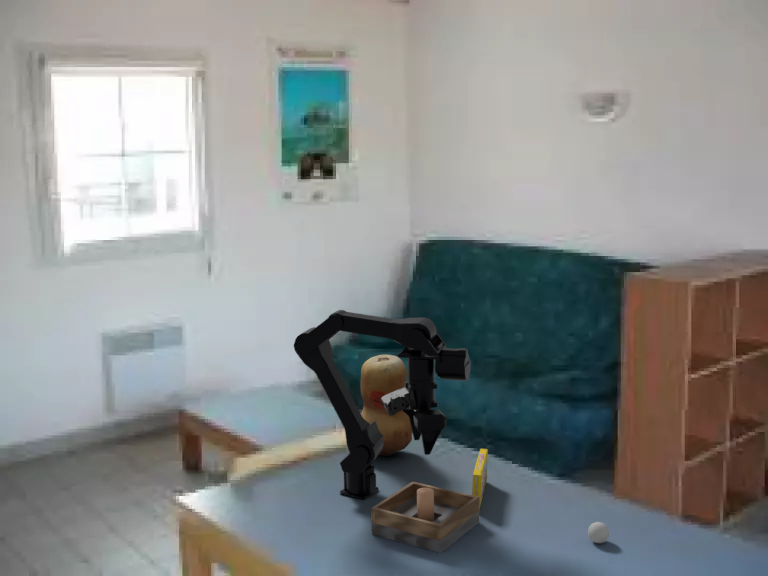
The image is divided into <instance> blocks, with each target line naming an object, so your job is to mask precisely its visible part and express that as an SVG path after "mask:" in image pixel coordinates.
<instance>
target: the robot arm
mask: <svg viewBox="0 0 768 576" xmlns="http://www.w3.org/2000/svg"><path fill="white" fill-rule="evenodd" d="M339 332H345V333H352V334H357V335H358V334H359V335H363V336H371V337H377V338H383V339H387V340H391V341H393V342H396V343H397V344H400V345H401V346H403V347H404V348H403V349H402V350H401V351H400V352H399V353H398V354H397V357H398V358H407V379H406V382H404V388H402V389H399V390H396V391H394V392H391V393H389V394H387V395H385V396H383V397H382V398H381V399H382V402H383V404H384V407H385V409H386V412H387V413H388V414H389V415H390V416H392V415H395V414H396V413H397V412H399V411H402V410H403V412H404V413H406V414H407V415H408V417H409V421H410V425H411V429H412V437H413V439H414V441H420V440H421V442H422V447H423V452H424V455H426V456H427V455H430V454H431V453H432V452H433V449H434V446H435V445H436V442H437V440H438V439H439V436H440V435H441V433H442V431H443V430H445V428H446V427H447V421H448V420H447V417H446V415H445V414H444V413H443V412H441V410H440V409H438V401H436V398H435V395H436V394H435V393H436V391H435V390H437V389H438V384H437V382H436V380H435V379H436V377H435V375H436V376H437V377H439V379H440V380H447V381H448V380H449V381H459V382H460V381H462V382H468V381H469V380H470V375H471V367H472V366H471V362H472V361H471V360H470V355H469V352H468V351H469V349H468V348H466V347H460V348H459V347H458V348H452V347H447V344H446V343H445V341H444V340H443V339H442V338H441V335H439V333H438V331H437V326H436V324H435V323H434V322H433V320H432V319H430V318H428V317H407V318H389V317H382V316H378V315H377V316H376V315H369V314H364V313H356V312H350V311H346V310H344V309H339V310H337V311H334V312H333V313H331V314H330V315H329V316H328V317H327V318H326V319H324V321H322V322H321V323H320V324H319V325H317V326H316V327H315V326H314V327H310V328H308V329H306V330H305V331H303V332H302V333H300V334H299V335H297V337H296V338H295V340H294V344H293V349H294V351H295V353H296V355H297V356H298V357H299V359H300V360H301V361H302V363H303V364H304V365H305V366H306V367H308V368H309V369H310V370H311V371H313V372H314V374H315V375H316V377H317V379H318V381H319V383H320V384H321V387H322V388H323V390H324V392H325V395H326V397H327V398H328V400H329V402H330V403H331V405H332V407H333V409H334V411H335V413H336V415H337V417H338V419H339V420H340V423H341V424H342V426H343V428H344V432H345V441H346V445H347V450H348V451H349V453H348V454H347V455H346V456H345V457H344V458H343V459H342V461H341V462H340V463H339V464H340V468H341V470H342V472H343V489H341V490H340V491H339V494H340V495H344V496H347V497H352V498H357V499H360V500H364V499H366V498H368V497H370V496H372V495H373V494H376V492H378V491H380V489H379V487H378V486H377V474H376V472H375V466H374V465H372V463H373V462H374V461H375V460H376V458H377V457H378V456H380V455H379V453H380V452H381V451H382V449H383V445H384V444H383V440H382V438H383V437H384V436H383V435H382V434H381V433H380V431H379V429H378V426H377V424H376V422H375V421H374V422H372V423H371V424H370V423H368V422H367V421H366V420H365V419H364V418H363V417H362V415H361V413H362V412H360V409H359V408H358V406H357V404H356V402H355V401H354V400H355V399H354V398H353V396H352V395H351V392H350V391H349V389H348V387H347V385H346V383H345V381H344V380H343V377H342V376H341V374H340V372H339V370H338V368H337V366H336V364H335V362H334V356H333V347H332V344H331V341H330V339H332V338H333V337H335V336H336V335H337V334H338V333H339ZM432 408H433V409H432ZM434 408H435V409H434ZM420 438H421V439H420Z"/></svg>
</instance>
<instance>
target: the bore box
mask: <svg viewBox="0 0 768 576" xmlns="http://www.w3.org/2000/svg"><path fill="white" fill-rule="evenodd" d="M420 488H431V489H433V490H434V522H430V521H426V520H422V519H419V518H417V490H418V489H420ZM370 516H371V517H370V524H371V535H374V536H377V537H381V538H385V539H389V540H392V541H396V542H399V543H402V544H403V543H404V544H407V545H410V546H413V547H418V548H420V549H421V548H422V549H424V550H428V551H432V552H436V553H439V554H442V553H443V552H445V550H447V549H448V548H450V546H452V545H453V544H454V543H455V542H457V541H458V540H459V539H460V538H462V537H463V536H464V535H465V534H466V533H468V532H469V531H471V529H473V528H474V527H475V526H476V525H478V524H479V523H480V510H479V497H477V496H473V495H472V494H468V493H464V492H459V491H455V490H451V489H446V488H442V487H438V486H433V485H428V484H426V483H420V482H416V481H411V482H410V483H408V484H406V485H405V486H404V487H402V488H400V489H399V490H397V491H395V492H394V493H393V494H390V495H389V496H388V497H386V498H385V499H383V500H381V501H380V502H378V503H377V504H376V505H374V506H372V507H370Z"/></svg>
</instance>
